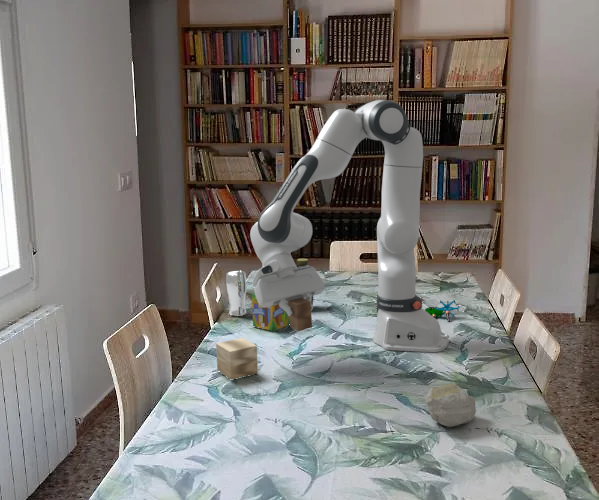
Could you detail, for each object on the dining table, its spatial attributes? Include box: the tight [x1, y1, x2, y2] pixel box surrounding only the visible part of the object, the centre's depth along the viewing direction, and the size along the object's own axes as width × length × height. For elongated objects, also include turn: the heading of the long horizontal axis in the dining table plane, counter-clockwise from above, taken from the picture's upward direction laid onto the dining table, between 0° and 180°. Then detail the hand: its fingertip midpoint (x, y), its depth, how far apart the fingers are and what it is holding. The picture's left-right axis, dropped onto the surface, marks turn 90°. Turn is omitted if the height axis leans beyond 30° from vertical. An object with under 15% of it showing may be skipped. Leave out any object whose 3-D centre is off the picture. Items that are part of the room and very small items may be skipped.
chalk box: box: [251, 292, 290, 332], centre depth 218 cm, size 9×9×15 cm
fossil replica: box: [424, 383, 477, 428], centre depth 148 cm, size 12×8×10 cm
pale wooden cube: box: [215, 337, 259, 380], centre depth 179 cm, size 8×8×8 cm
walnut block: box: [288, 298, 313, 332], centre depth 184 cm, size 4×4×8 cm
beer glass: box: [225, 270, 247, 316], centre depth 232 cm, size 7×7×15 cm
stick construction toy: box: [424, 299, 460, 323], centre depth 223 cm, size 12×7×8 cm
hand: (301, 312), depth 183 cm, fingers closed on walnut block, 4 cm apart
